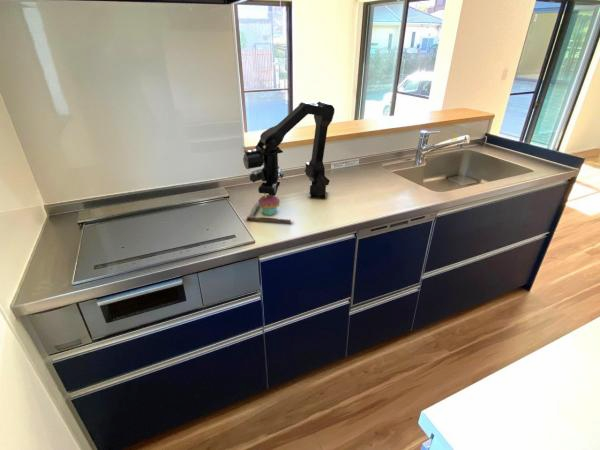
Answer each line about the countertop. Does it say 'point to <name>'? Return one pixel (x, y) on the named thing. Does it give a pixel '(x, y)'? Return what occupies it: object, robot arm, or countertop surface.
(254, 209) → the corner guide
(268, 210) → the cupcake
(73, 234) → the countertop surface
